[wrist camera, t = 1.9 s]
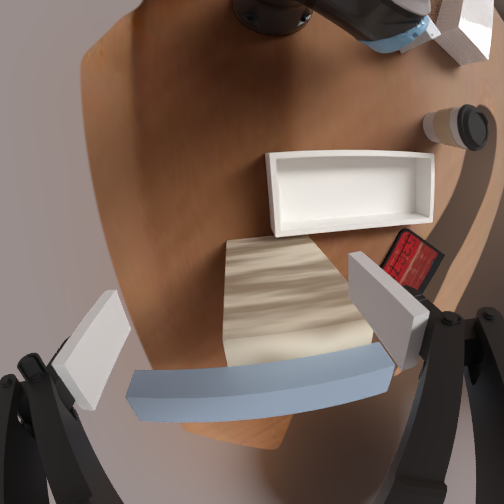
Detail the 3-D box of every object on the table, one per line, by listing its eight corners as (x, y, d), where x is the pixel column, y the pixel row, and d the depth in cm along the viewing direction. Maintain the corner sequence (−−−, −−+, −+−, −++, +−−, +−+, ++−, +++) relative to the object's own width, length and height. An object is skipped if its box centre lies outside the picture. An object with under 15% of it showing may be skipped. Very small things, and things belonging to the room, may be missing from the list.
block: (134, 370, 26) (125, 396, 22) (379, 341, 27) (395, 365, 23) (146, 394, 27) (139, 420, 23) (373, 368, 28) (386, 391, 24)
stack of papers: (446, -20, 30) (467, -31, 20) (472, 3, 33) (493, -5, 22) (430, 37, 39) (458, 27, 29) (460, 65, 42) (488, 60, 31)
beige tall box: (226, 240, 53) (222, 339, 25) (304, 232, 54) (375, 316, 25) (233, 292, 57) (237, 410, 29) (306, 283, 57) (361, 389, 29)
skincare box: (411, 48, 41) (444, 35, 29) (400, 54, 41) (433, 40, 30) (395, 26, 39) (424, 9, 27) (383, 32, 40) (412, 13, 28)
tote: (264, 153, 48) (269, 153, 42) (417, 152, 49) (434, 153, 43) (270, 228, 53) (275, 237, 47) (416, 215, 54) (432, 222, 48)
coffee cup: (436, 155, 49) (483, 161, 35) (412, 126, 47) (459, 125, 33) (452, 128, 47) (497, 130, 33) (429, 100, 45) (475, 94, 31)
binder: (446, 255, 56) (402, 326, 62) (440, 252, 58) (398, 321, 64) (405, 226, 53) (357, 307, 59) (399, 223, 56) (353, 302, 61)
